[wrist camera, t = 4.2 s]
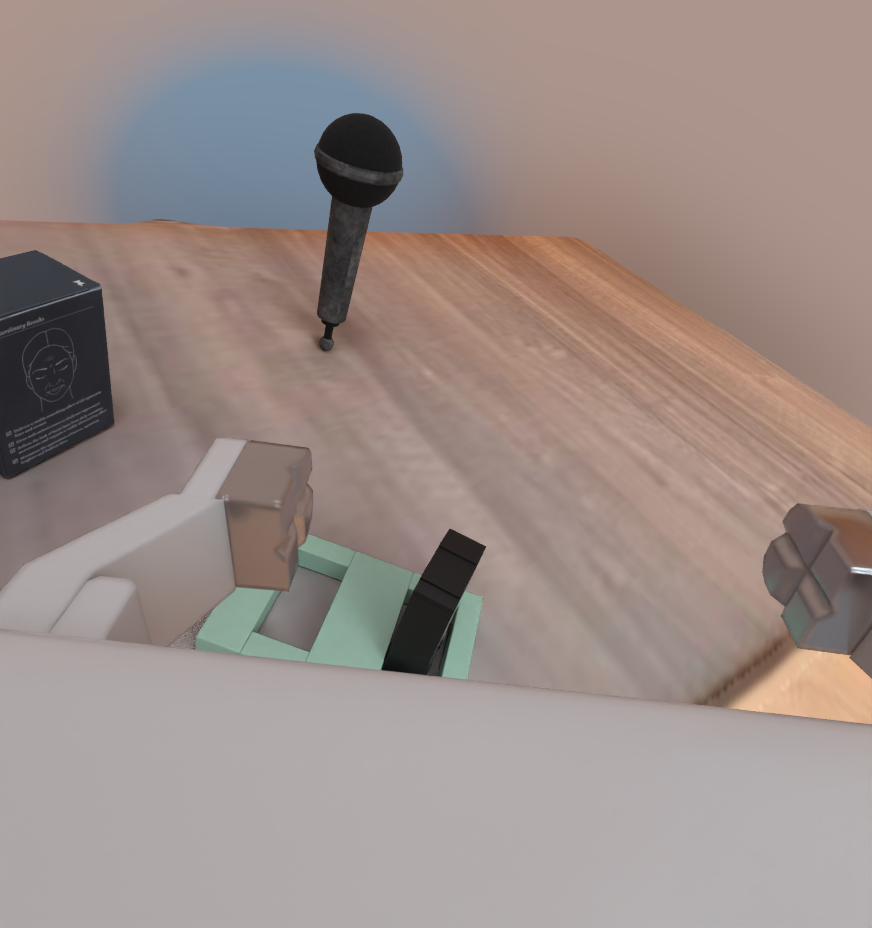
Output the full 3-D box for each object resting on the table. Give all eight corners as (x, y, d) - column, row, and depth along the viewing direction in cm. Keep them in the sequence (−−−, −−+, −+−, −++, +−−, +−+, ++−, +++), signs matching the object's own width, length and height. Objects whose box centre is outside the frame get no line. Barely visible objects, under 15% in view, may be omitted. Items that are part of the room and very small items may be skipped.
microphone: (314, 375, 54) (357, 129, 41) (273, 334, 57) (302, 94, 44) (376, 362, 58) (431, 136, 46) (335, 325, 61) (376, 104, 49)
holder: (194, 652, 32) (194, 636, 31) (268, 536, 39) (270, 519, 38) (448, 745, 32) (456, 731, 31) (476, 611, 39) (483, 597, 38)
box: (56, 389, 44) (36, 246, 37) (116, 426, 42) (106, 285, 36) (-61, 438, 38) (-109, 278, 31) (5, 482, 36) (-31, 326, 30)
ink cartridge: (415, 698, 33) (457, 610, 28) (378, 677, 34) (413, 587, 29) (447, 631, 37) (490, 544, 32) (414, 614, 37) (451, 525, 32)
